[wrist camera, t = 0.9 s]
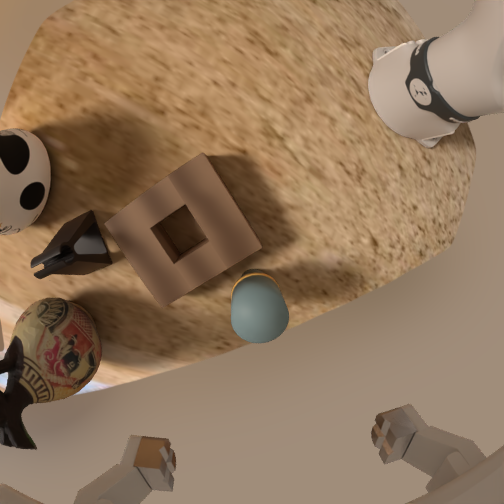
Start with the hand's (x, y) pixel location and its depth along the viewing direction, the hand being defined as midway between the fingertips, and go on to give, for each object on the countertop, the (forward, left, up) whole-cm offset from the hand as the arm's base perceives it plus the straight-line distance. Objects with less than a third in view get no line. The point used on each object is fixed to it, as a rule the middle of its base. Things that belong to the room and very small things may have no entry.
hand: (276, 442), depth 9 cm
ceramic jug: (+33, -5, -33) cm, 47 cm away
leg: (+2, +5, -33) cm, 34 cm away
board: (+6, -7, -33) cm, 34 cm away
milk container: (+27, -31, -34) cm, 53 cm away
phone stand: (+21, -14, -34) cm, 42 cm away
